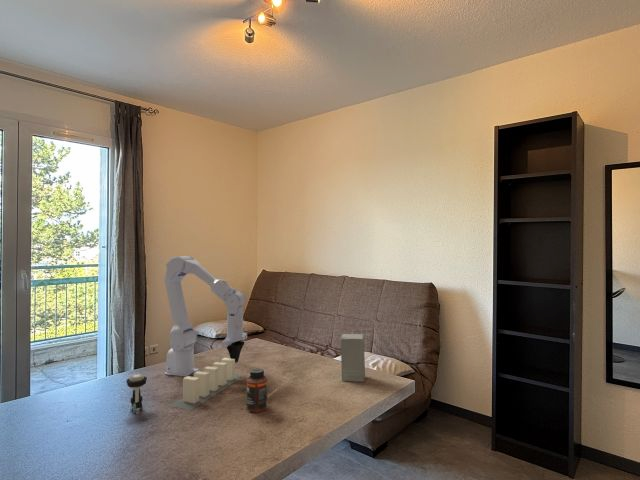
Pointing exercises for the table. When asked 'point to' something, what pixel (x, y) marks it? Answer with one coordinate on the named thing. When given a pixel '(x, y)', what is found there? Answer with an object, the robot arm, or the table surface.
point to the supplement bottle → (256, 391)
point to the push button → (136, 390)
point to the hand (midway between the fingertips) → (234, 362)
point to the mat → (202, 399)
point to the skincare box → (353, 357)
